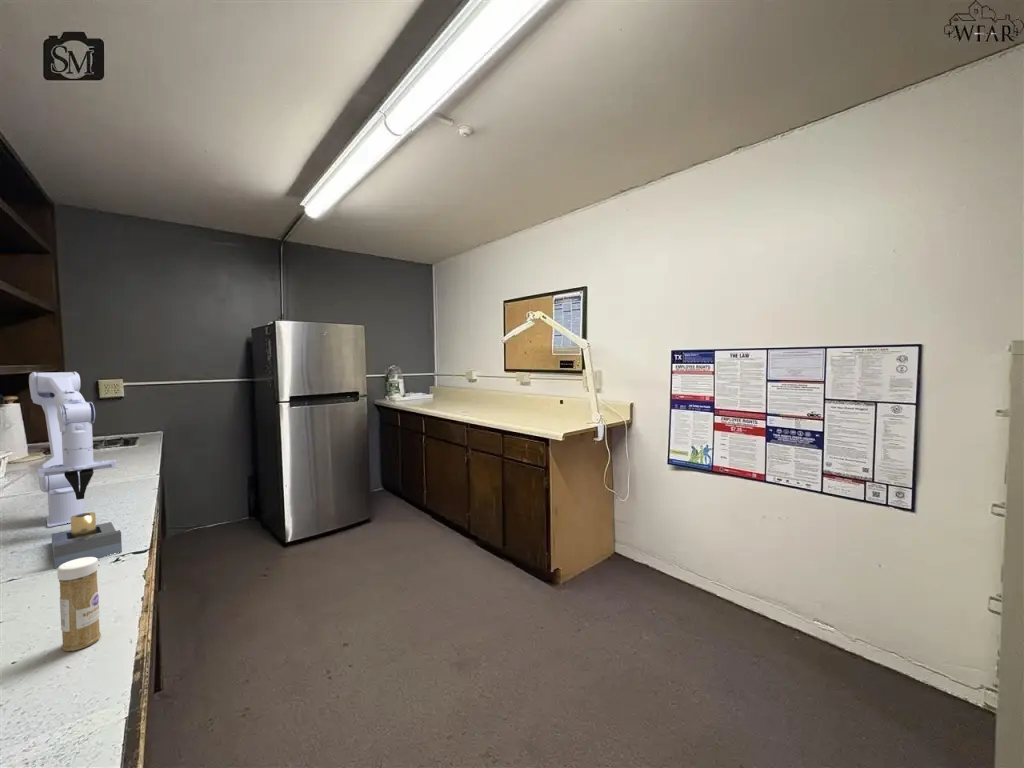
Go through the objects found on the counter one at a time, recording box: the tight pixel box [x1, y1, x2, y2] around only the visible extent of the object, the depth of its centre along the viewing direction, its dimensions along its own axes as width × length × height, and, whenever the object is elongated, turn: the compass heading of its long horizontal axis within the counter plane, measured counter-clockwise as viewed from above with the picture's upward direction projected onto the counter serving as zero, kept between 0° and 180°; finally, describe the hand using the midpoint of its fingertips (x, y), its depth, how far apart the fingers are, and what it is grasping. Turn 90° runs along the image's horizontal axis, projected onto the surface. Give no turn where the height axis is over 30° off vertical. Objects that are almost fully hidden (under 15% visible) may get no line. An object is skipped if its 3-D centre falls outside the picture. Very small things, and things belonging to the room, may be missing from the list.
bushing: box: [70, 511, 97, 539], centre depth 108 cm, size 4×4×7 cm
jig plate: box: [51, 521, 123, 570], centre depth 104 cm, size 20×11×5 cm, turn 49°
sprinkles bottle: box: [57, 557, 102, 652], centre depth 69 cm, size 5×5×13 cm
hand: (80, 498), depth 113 cm, fingers closed
